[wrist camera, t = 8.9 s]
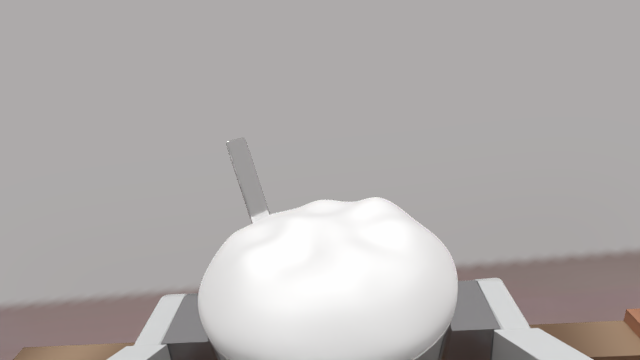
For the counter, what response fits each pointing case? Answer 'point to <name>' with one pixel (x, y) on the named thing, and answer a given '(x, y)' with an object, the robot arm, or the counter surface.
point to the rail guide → (588, 338)
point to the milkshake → (327, 282)
